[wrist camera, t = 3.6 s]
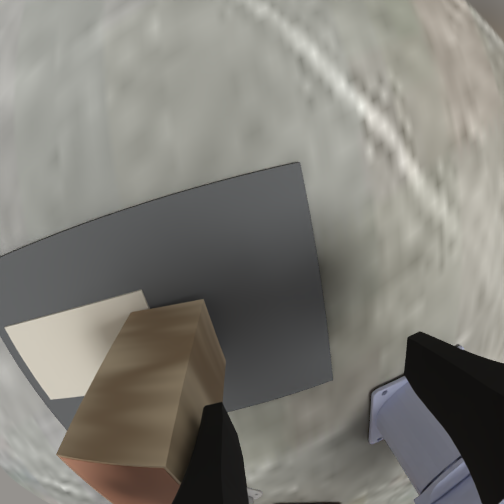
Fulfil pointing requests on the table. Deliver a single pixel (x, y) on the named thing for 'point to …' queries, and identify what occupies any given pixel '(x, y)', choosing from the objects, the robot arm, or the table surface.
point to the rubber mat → (176, 288)
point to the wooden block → (147, 405)
